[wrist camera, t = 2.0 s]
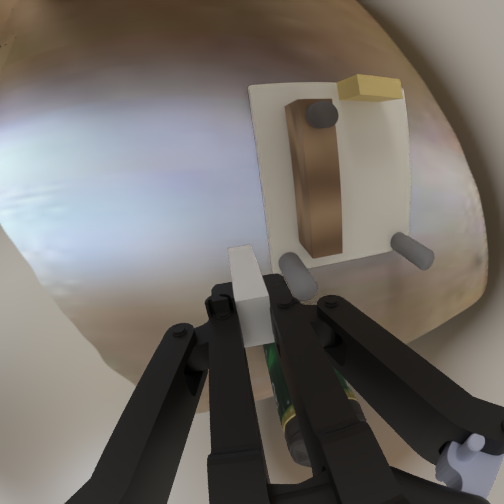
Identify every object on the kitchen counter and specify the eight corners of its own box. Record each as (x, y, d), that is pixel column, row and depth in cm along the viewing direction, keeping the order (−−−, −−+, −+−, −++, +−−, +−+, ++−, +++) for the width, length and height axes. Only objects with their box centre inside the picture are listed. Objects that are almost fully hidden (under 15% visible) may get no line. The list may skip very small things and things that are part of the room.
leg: (284, 106, 23) (304, 96, 18) (313, 104, 23) (340, 95, 18) (299, 241, 29) (319, 266, 23) (325, 237, 29) (350, 260, 23)
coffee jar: (254, 318, 34) (285, 450, 17) (314, 302, 34) (379, 418, 17) (268, 367, 38) (296, 480, 21) (319, 353, 38) (367, 456, 21)
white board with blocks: (247, 88, 24) (258, 69, 17) (396, 90, 25) (437, 83, 18) (271, 269, 32) (287, 304, 25) (401, 243, 33) (436, 266, 26)
